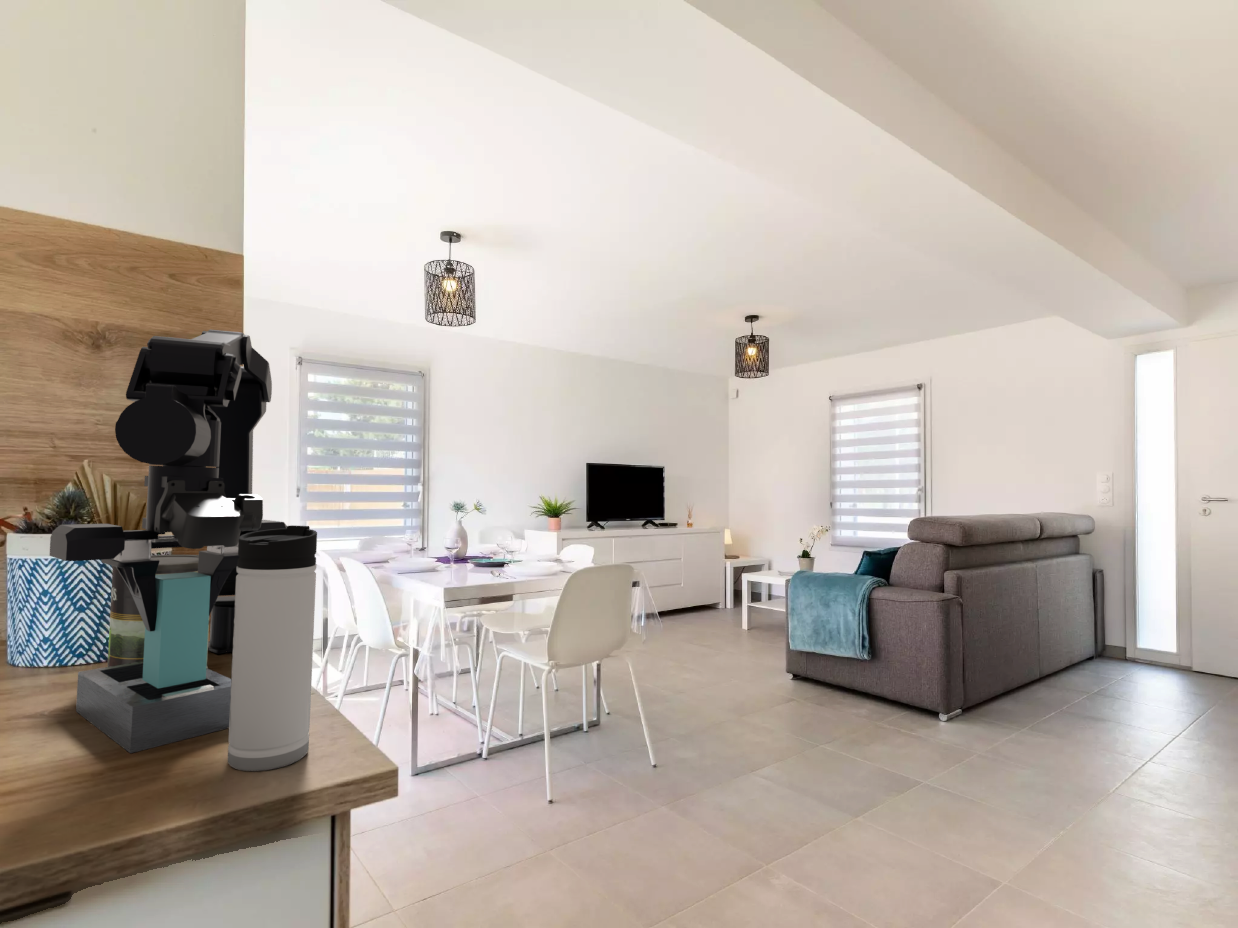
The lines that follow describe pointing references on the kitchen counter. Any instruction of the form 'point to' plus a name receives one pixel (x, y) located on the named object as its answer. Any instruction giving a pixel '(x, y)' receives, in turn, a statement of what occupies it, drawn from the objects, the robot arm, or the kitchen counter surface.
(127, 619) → the coffee can
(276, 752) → the travel mug
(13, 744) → the kitchen counter surface
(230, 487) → the robot arm
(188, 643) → the teal peg
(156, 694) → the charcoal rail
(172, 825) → the kitchen counter surface
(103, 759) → the kitchen counter surface
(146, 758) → the kitchen counter surface
